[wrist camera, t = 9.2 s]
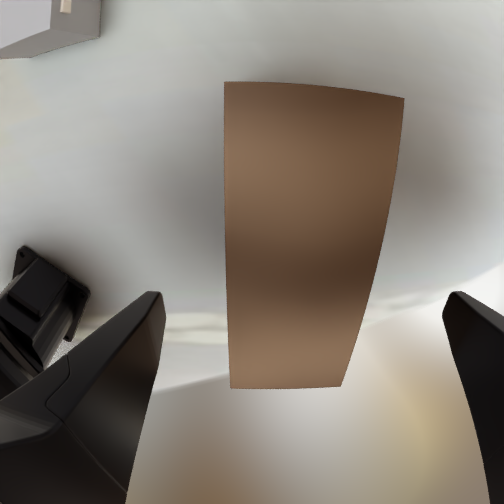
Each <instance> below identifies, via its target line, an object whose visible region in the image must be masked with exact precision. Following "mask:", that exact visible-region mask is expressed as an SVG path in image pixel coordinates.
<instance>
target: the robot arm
mask: <svg viewBox="0 0 504 504" xmlns="http://www.w3.org/2000/svg"><path fill="white" fill-rule="evenodd" d="M23 253H24V254H23ZM83 293H84V294H85V295H84V294H83ZM89 297H90V291H89V290H88V288H86V287H85V286H83V285H82V284H80V283H79V282H77V281H75V280H74V279H72V278H71V277H69V276H68V275H66V274H65V273H63V272H61V271H60V270H58V269H57V268H55V267H54V266H52V265H51V264H49V263H48V262H47V261H45V260H44V259H42V258H41V257H39V256H38V255H36V254H35V253H33V252H32V251H31V250H29V249H28V248H26V247H25V246H22V247H20V248H19V249H18V251H17V255H16V260H15V266H14V272H13V279H12V281H11V282H10V283H9V284H8V286H7V287H6V288H5V289H4V290H3V291H2V292H1V294H0V504H125V502H126V497H127V491H128V487H129V482H130V477H131V473H132V469H133V464H134V460H135V456H136V451H137V447H138V443H139V439H140V435H141V431H142V427H143V423H144V419H145V415H146V411H147V407H148V403H149V399H150V396H151V392H152V388H153V385H154V381H155V377H156V374H157V370H158V366H159V360H160V354H161V347H162V341H163V335H164V329H165V323H166V313H165V307H164V302H163V296H162V294H161V292H157V291H147V292H145V293H144V294H143V295H141V296H140V297H139V298H137V299H136V300H135V301H134V302H132V303H131V304H130V305H128V306H127V307H126V308H124V309H123V310H122V311H120V312H119V313H118V314H116V315H115V316H114V317H113V318H111V319H110V320H109V321H107V322H106V323H105V324H103V325H102V326H101V327H100V328H98V329H97V330H96V331H94V332H93V333H92V334H91V335H89V336H88V337H87V338H85V339H84V340H83V341H82V342H80V343H79V344H78V345H77V346H75V347H74V348H73V349H71V350H70V351H69V352H68V353H67V354H65V355H64V356H62V357H61V358H60V359H59V360H57V361H56V362H55V363H54V364H52V365H51V366H50V367H48V365H49V363H50V361H51V359H52V357H53V355H54V354H55V352H56V350H57V348H58V347H59V345H60V343H61V341H62V339H64V340H66V341H68V342H71V341H72V339H73V337H74V335H75V332H76V329H77V327H78V324H79V321H80V319H81V316H82V314H83V311H84V309H85V306H86V304H87V301H88V299H89ZM442 319H443V322H444V326H445V329H446V333H447V336H448V340H449V344H450V347H451V351H452V355H453V358H454V361H455V364H456V367H457V370H458V373H459V375H460V379H461V382H462V385H463V388H464V391H465V394H466V398H467V401H468V404H469V408H470V411H471V415H472V418H473V422H474V426H475V430H476V434H477V438H478V442H479V446H480V450H481V455H482V459H483V463H484V470H485V474H486V480H487V486H488V492H489V499H490V504H504V316H502V315H501V314H499V313H498V312H496V311H494V310H493V309H491V308H489V307H488V306H486V305H484V304H483V303H481V302H479V301H478V300H476V299H474V298H472V297H471V296H469V295H468V294H466V293H464V292H462V291H454V292H451V293H450V295H449V297H448V300H447V302H446V305H445V307H444V310H443V313H442ZM47 367H48V368H47ZM46 368H47V369H46Z"/></svg>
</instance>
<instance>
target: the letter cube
mask: <svg viewBox="0 0 504 504" xmlns="http://www.w3.org/2000/svg"><path fill="white" fill-rule="evenodd" d="M100 10H101V0H0V59H12V58H31V57H34V56H36V55H39V54H42V53H45V52H48V51H52V50H55V49H58V48H61V47H65V46H68V45H72V44H75V43H79V42H83V41H87V40H91V39H95V38H100Z"/></svg>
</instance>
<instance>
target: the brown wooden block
mask: <svg viewBox="0 0 504 504" xmlns="http://www.w3.org/2000/svg"><path fill="white" fill-rule="evenodd" d="M403 109H404V98H400V97H395V96H390V95H384V94H378V93H372V92H366V91H359V90H352V89H345V88H336V87H327V86H317V85H306V84H292V83H274V82H224V195H225V252H226V290H227V321H228V347H229V370H230V388H236V389H238V388H239V389H299V388H323V387H340V386H341V384H342V381H343V379H344V376H345V372H346V370H347V367H348V364H349V361H350V358H351V355H352V352H353V349H354V346H355V343H356V340H357V336H358V333H359V330H360V327H361V323H362V320H363V316H364V313H365V309H366V306H367V302H368V299H369V295H370V291H371V288H372V284H373V280H374V276H375V272H376V268H377V264H378V260H379V255H380V251H381V247H382V242H383V237H384V233H385V228H386V223H387V218H388V213H389V208H390V202H391V197H392V191H393V185H394V179H395V173H396V167H397V160H398V153H399V145H400V137H401V129H402V119H403Z"/></svg>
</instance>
